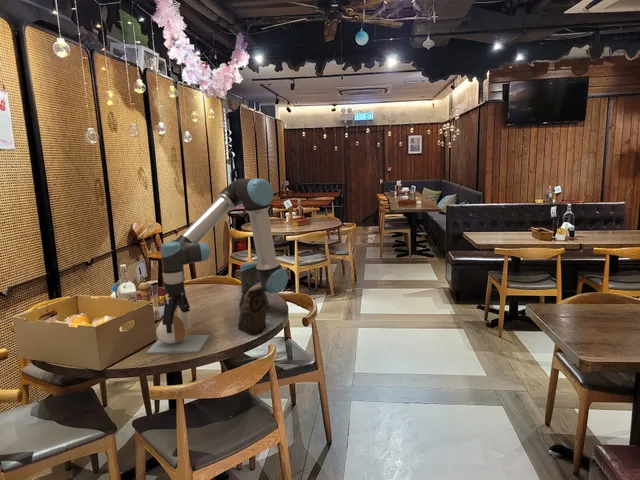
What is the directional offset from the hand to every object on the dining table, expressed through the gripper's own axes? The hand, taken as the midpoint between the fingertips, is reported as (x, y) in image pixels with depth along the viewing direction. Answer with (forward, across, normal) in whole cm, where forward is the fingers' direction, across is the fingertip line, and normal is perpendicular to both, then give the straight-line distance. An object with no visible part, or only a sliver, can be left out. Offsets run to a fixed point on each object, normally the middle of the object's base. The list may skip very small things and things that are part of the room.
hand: (178, 333), depth 175 cm
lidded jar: (0, 0, -8) cm, 8 cm away
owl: (+5, -17, +26) cm, 31 cm away
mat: (+5, 0, 0) cm, 5 cm away
